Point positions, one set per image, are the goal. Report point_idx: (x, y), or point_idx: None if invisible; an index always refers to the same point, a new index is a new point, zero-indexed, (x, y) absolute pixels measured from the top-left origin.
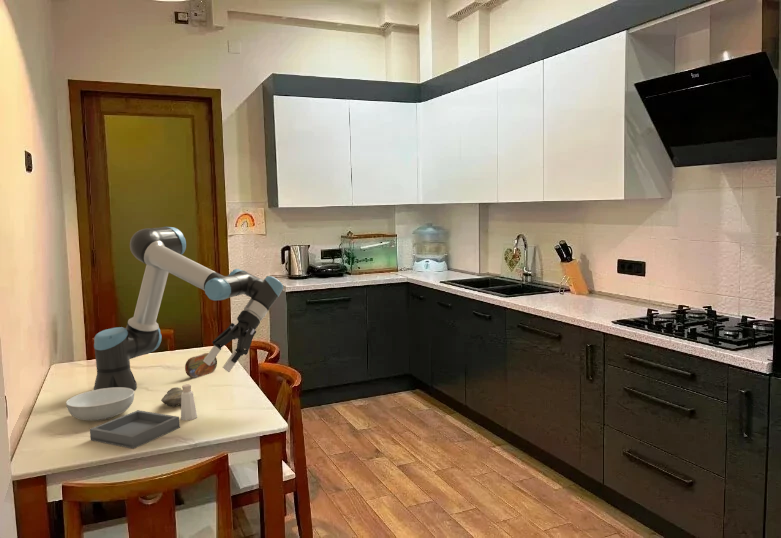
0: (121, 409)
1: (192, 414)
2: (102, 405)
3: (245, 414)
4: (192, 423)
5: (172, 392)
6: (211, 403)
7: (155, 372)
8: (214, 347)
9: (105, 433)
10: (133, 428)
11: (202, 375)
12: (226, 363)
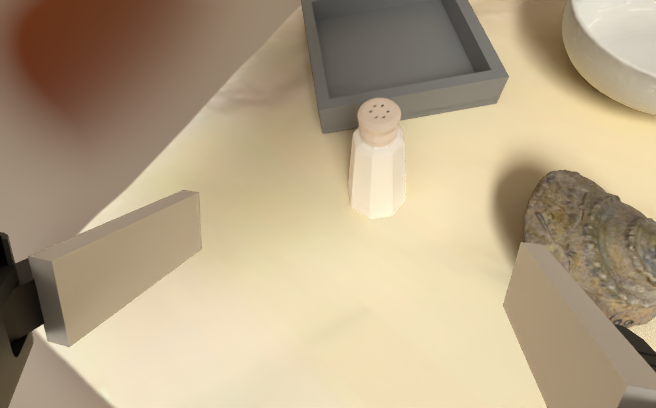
0: (571, 57)
1: (349, 182)
2: None
3: (207, 324)
4: (318, 170)
5: (594, 210)
6: (461, 354)
7: None
8: (606, 366)
9: None
10: (413, 55)
11: None
12: (158, 201)
